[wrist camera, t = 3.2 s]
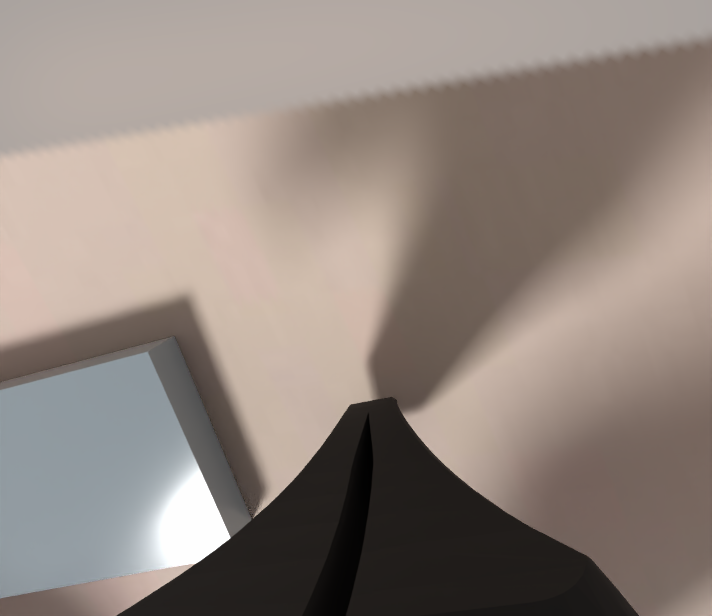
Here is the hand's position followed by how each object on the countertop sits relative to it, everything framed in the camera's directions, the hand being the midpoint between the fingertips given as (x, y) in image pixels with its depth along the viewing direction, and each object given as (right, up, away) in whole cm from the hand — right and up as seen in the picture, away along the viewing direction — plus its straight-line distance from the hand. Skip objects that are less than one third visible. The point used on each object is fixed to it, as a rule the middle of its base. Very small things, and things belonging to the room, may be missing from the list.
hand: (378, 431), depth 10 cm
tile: (-11, -2, +3) cm, 12 cm away
